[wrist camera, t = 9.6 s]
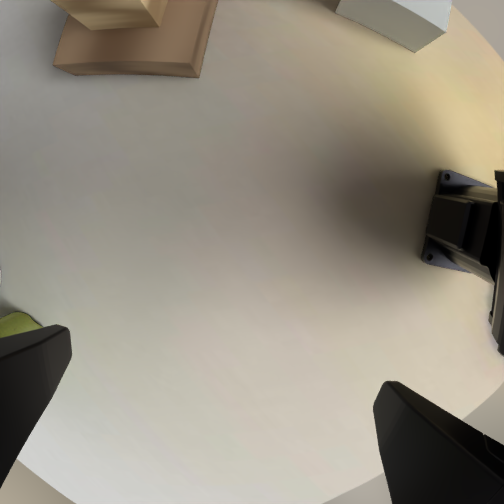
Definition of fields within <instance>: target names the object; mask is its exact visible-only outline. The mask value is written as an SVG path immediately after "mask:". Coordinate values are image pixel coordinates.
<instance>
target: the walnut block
mask: <svg viewBox="0 0 504 504" xmlns="http://www.w3.org/2000/svg"><path fill="white" fill-rule="evenodd" d="M217 3H218V0H168V2H167V5H166V8H165V11H164V15H163V18H162V21H161V24H160V27H140V28H116V29H102V30H90V29H89V28H87V27H86V26H85V25H83V24H82V23H81V22H79V21H78V20H77V19H75V18H74V17H73V16H71V15H70V14H69V15H68V18H67V20H66V23H65V26H64V29H63V32H62V35H61V38H60V41H59V45H58V48H57V51H56V55H55V58H54V62H53V66H55V67H58V68H60V69H62V70H64V71H66V72H69V73H71V74H73V75H75V76H76V75H103V74H136V75H163V76H179V77H192V78H199V76H200V72H201V67H202V63H203V59H204V54H205V50H206V46H207V42H208V38H209V34H210V30H211V26H212V22H213V18H214V14H215V10H216V7H217Z"/></svg>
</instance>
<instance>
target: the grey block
mask: <svg viewBox="0 0 504 504" xmlns="http://www.w3.org/2000/svg"><path fill="white" fill-rule="evenodd" d="M451 4H452V0H340V2H339V4H338V7H337V9H336V11H335V13H336V14H339V15H341V16H343V17H346V18H348V19H350V20H352V21H355V22H357V23H359V24H361V25H363V26H365V27H367V28H369V29H371V30H373V31H375V32H377V33H379V34H381V35H383V36H385V37H387V38H389V39H391V40H393V41H395V42H396V43H398V44H400V45H402V46H404V47H405V48H407V49H409V50H411V51H412V52H414V53H416V52H417V51H419V50H420V49H422V48H423V47H425V46H426V45H428V44H429V43H431V42H432V41H434V40H435V39H437V38H438V37H440V36H441V35H443V34H444V33H446V30H447V25H448V20H449V15H450V10H451Z"/></svg>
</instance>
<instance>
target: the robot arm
mask: <svg viewBox="0 0 504 504" xmlns="http://www.w3.org/2000/svg"><path fill="white" fill-rule="evenodd" d="M494 172H495V180H496V181H497V189H496V188H493V187H491V186H488V185H486V184H484V183H481V182H479V181H476V180H474V179H471V178H469V177H466V176H464V175H461V174H458V173H456V172H453V171H450V170H441V171H440V173H439V176H438V182H437V188H436V193H435V196H434V197H433V202H432V206H431V211H430V216H429V220H428V225H427V229H426V234H427V235H426V239H425V243H424V247H423V251H422V254H421V258H422V261H423V262H425V263H426V264H429V265H434V266H439V267H444V268H449V269H454V270H458V271H463V272H468V273H473V274H475V275H476V276H478V277H480V278H482V279H484V280H485V281H487V282H489V283H491V284H492V285H494V294H493V302H492V310H491V311H490V313H489V323H490V324H491V326H492V334H493V336H494V338H495V340H496V342H497V343H498V344H499V345H498V352H499V353H500V354H501V355H502V356H503V357H504V170H494ZM445 174H447V180H445ZM428 254H430V258H429V259H427V255H428ZM71 357H72V348H71V338H70V331H69V329H68V328H67V327H64V326H61V325H57V324H56V325H51V326H47V327H43V328H39V329H35V330H31V331H27V332H23V333H19V334H14V335H10V336H6V337H2V338H0V488H1V486H2V484H3V482H4V480H5V479H6V477H7V475H8V473H9V471H10V469H11V467H12V466H13V464H14V462H15V460H16V458H17V456H18V455H19V453H20V451H21V449H22V448H23V446H24V444H25V442H26V441H27V439H28V437H29V435H30V434H31V432H32V430H33V429H34V427H35V425H36V424H37V422H38V420H39V419H40V417H41V415H42V414H43V412H44V410H45V409H46V407H47V405H48V404H49V402H50V400H51V399H52V397H53V395H54V393H55V391H56V389H57V387H58V385H59V383H60V380H61V378H62V376H63V374H64V372H65V370H66V368H67V366H68V364H69V362H70V360H71ZM373 413H374V419H375V425H376V432H377V439H378V446H379V452H380V456H381V460H382V464H383V468H384V472H385V476H386V479H387V484H388V488H389V492H390V496H391V500H392V504H504V445H503V444H501V443H499V442H497V441H495V440H494V439H492V438H490V437H489V436H487V435H483V433H482V432H480V431H478V430H476V429H475V428H473V427H472V426H470V425H468V424H467V423H465V422H463V421H462V420H460V419H458V418H457V417H455V416H453V415H452V414H450V413H448V412H447V411H445V410H443V409H442V408H440V407H439V406H437V405H435V404H434V403H432V402H430V401H429V400H427V399H426V398H424V397H422V396H421V395H419V394H418V393H416V392H414V391H413V390H411V389H410V388H408V387H406V386H405V385H403V384H402V383H400V382H398V381H386V382H384V383H383V385H382V387H381V389H380V391H379V393H378V395H377V398H376V400H375V402H374V405H373Z"/></svg>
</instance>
